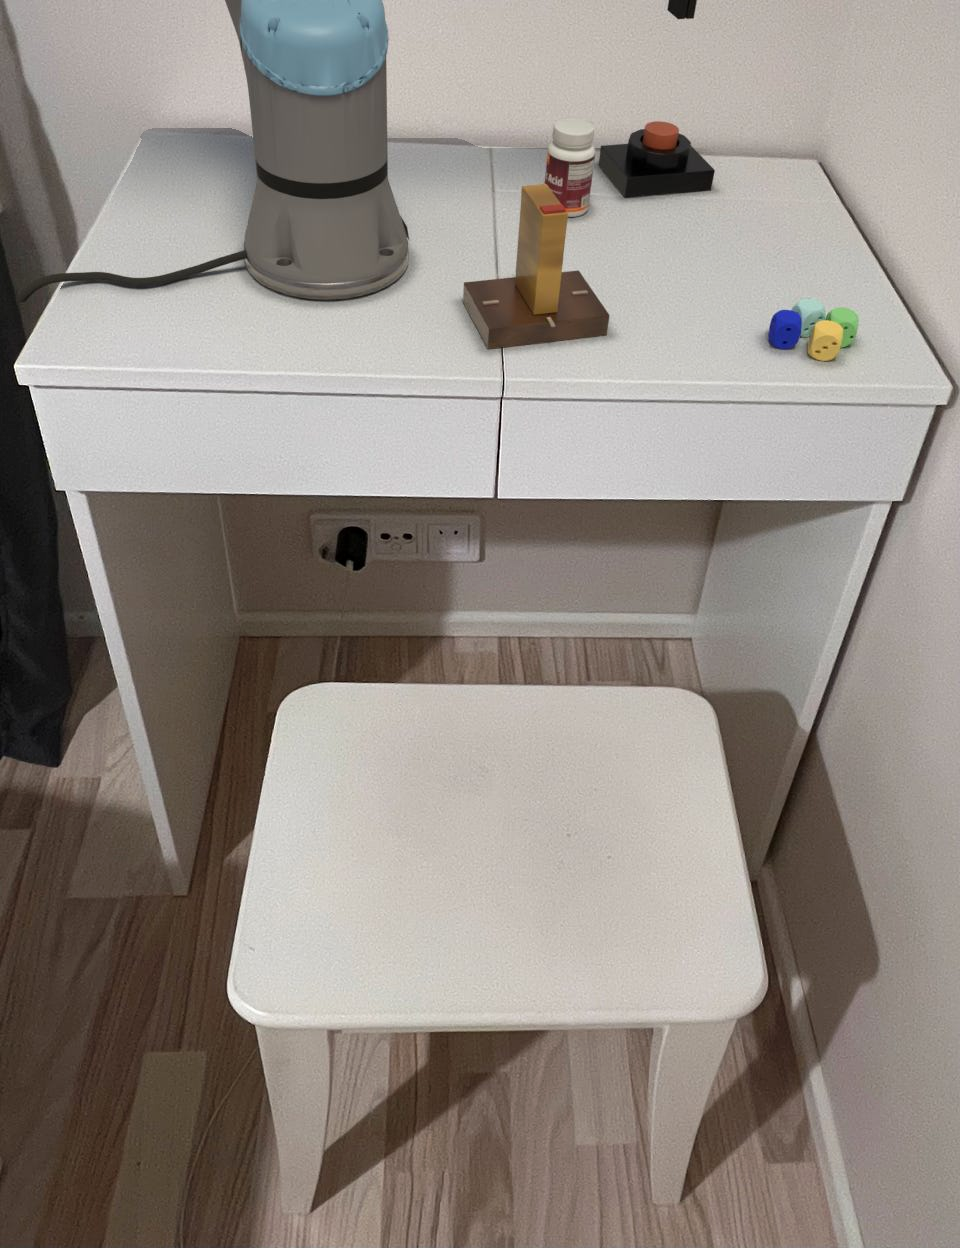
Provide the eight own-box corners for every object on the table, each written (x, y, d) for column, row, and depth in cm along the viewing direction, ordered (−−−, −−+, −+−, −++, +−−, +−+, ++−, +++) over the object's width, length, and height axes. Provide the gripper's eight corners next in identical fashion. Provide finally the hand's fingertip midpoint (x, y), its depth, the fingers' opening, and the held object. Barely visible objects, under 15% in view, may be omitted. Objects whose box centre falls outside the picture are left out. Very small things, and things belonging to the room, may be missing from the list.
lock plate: (490, 354, 96) (491, 332, 94) (460, 297, 102) (461, 275, 100) (610, 340, 98) (613, 318, 96) (573, 285, 104) (575, 264, 103)
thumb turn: (514, 283, 100) (522, 182, 93) (537, 281, 101) (546, 180, 94) (533, 315, 96) (542, 212, 90) (557, 312, 97) (568, 210, 90)
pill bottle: (534, 201, 116) (541, 119, 110) (574, 194, 118) (583, 113, 112) (555, 221, 113) (563, 138, 107) (596, 214, 115) (607, 131, 109)
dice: (755, 330, 100) (789, 369, 96) (761, 304, 98) (797, 342, 94) (833, 319, 102) (870, 357, 98) (841, 293, 100) (879, 331, 96)
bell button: (650, 153, 117) (652, 136, 116) (637, 138, 120) (639, 122, 118) (681, 150, 118) (684, 133, 117) (668, 136, 120) (670, 120, 119)
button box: (624, 198, 118) (630, 160, 115) (598, 165, 123) (602, 128, 120) (711, 190, 120) (718, 153, 117) (681, 158, 125) (687, 122, 122)
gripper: (674, -289, 89) (632, 30, 106) (822, -286, 92) (758, 24, 109) (639, -303, 94) (604, 4, 111) (780, -300, 97) (725, -2, 114)
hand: (680, 13), depth 110 cm, fingers closed
